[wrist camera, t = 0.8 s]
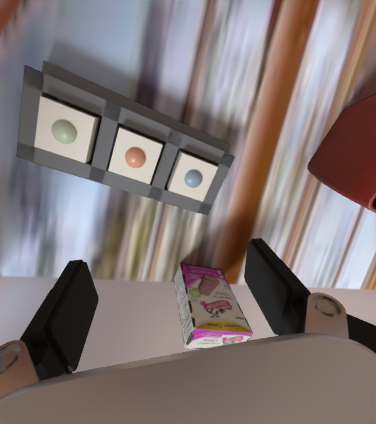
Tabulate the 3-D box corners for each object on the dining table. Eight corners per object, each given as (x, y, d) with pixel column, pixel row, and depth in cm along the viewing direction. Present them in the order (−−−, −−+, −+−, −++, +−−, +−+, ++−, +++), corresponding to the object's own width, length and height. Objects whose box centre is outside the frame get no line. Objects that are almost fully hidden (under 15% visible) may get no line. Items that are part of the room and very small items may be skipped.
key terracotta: (149, 179, 32) (149, 184, 29) (111, 166, 30) (107, 171, 27) (161, 143, 30) (162, 145, 27) (122, 127, 28) (119, 127, 25)
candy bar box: (222, 268, 47) (255, 333, 33) (214, 283, 49) (242, 352, 34) (179, 261, 44) (194, 329, 29) (172, 278, 46) (183, 350, 31)
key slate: (198, 195, 35) (203, 202, 32) (166, 185, 33) (168, 190, 30) (212, 163, 33) (218, 167, 30) (179, 150, 31) (182, 153, 28)
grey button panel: (197, 211, 40) (204, 222, 35) (34, 160, 31) (15, 167, 26) (227, 144, 35) (239, 147, 31) (46, 62, 26) (26, 49, 22)
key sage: (91, 159, 29) (84, 163, 26) (45, 144, 27) (33, 146, 24) (100, 118, 27) (94, 117, 24) (51, 98, 25) (39, 95, 22)
